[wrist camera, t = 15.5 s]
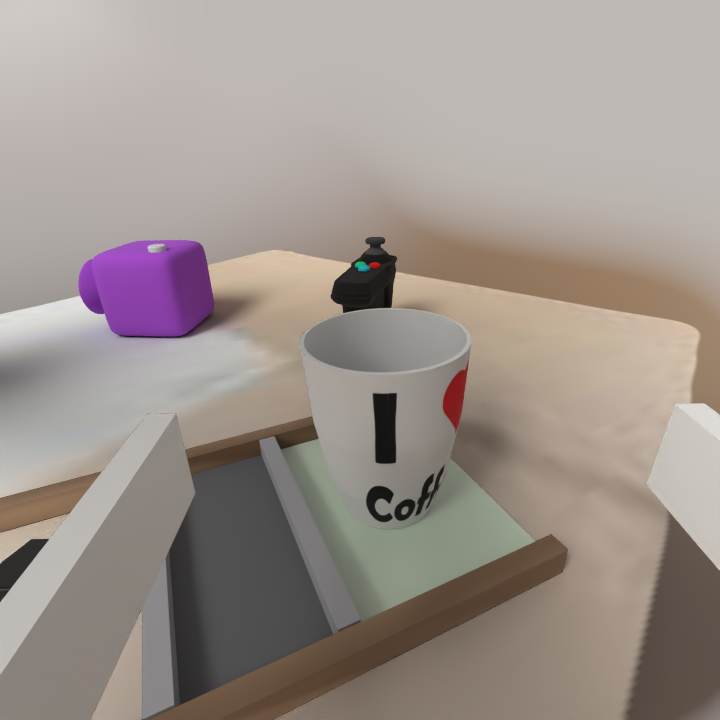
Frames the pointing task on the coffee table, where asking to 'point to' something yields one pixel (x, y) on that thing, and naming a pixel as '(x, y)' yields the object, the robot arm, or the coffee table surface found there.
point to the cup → (386, 406)
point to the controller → (367, 280)
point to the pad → (404, 535)
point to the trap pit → (238, 584)
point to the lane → (341, 650)
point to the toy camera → (149, 287)
